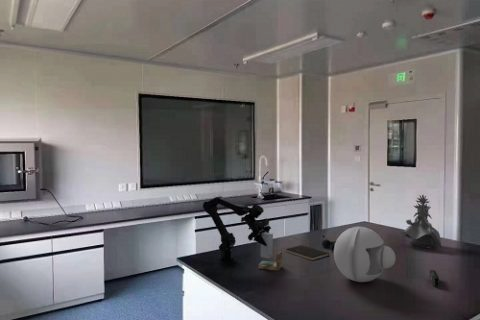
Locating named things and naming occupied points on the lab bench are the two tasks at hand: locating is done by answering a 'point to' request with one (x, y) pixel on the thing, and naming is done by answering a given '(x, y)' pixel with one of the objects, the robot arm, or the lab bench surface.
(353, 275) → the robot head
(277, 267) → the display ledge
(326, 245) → the headset
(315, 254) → the hardcover book
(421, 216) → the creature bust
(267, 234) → the grey tapered block
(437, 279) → the mobile phone
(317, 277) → the lab bench surface
